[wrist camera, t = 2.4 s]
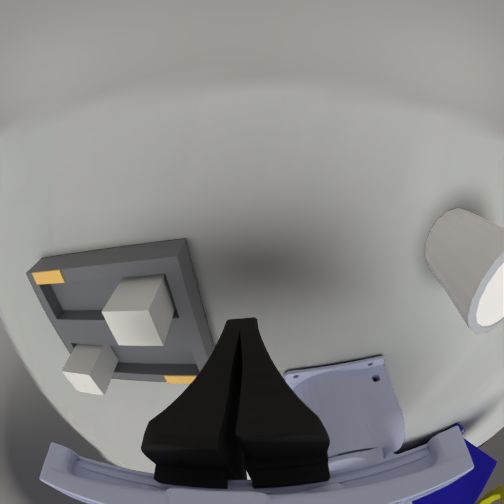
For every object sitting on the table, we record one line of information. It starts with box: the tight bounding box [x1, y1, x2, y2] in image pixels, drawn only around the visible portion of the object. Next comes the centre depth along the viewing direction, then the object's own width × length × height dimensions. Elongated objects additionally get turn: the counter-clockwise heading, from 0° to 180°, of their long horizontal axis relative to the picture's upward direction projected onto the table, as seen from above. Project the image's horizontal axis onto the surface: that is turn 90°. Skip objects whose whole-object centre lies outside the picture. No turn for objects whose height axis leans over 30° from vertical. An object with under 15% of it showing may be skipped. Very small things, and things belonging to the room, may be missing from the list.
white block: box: [62, 344, 119, 395], centre depth 19 cm, size 3×3×4 cm
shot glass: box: [425, 208, 504, 334], centre depth 15 cm, size 7×7×7 cm
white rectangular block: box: [102, 273, 176, 346], centre depth 16 cm, size 3×3×4 cm
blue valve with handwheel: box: [412, 423, 504, 504], centre depth 27 cm, size 26×27×30 cm
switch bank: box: [26, 238, 214, 384], centre depth 19 cm, size 13×11×2 cm
